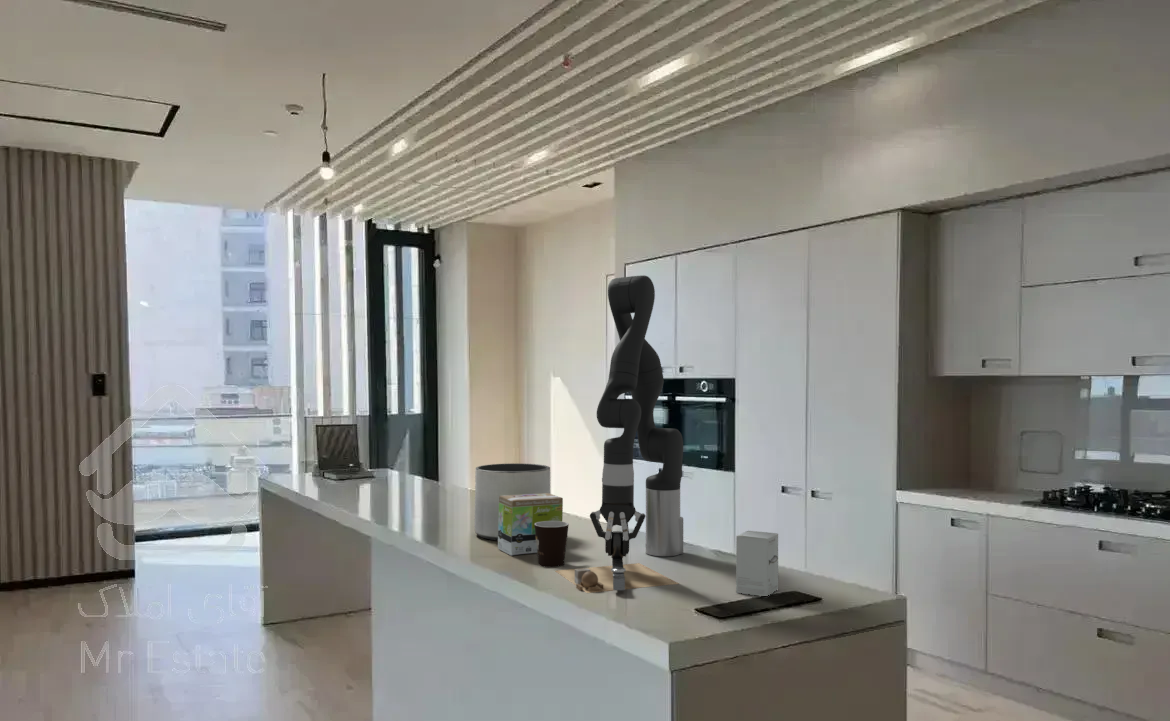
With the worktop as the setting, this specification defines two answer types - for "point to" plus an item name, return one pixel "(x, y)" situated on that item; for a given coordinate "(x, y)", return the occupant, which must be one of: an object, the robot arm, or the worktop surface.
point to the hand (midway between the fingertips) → (617, 555)
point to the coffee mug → (551, 542)
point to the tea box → (525, 520)
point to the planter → (504, 491)
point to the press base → (634, 577)
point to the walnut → (589, 579)
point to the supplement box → (756, 563)
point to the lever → (617, 560)
